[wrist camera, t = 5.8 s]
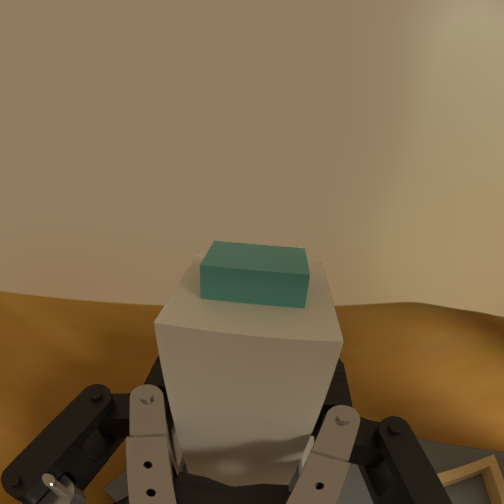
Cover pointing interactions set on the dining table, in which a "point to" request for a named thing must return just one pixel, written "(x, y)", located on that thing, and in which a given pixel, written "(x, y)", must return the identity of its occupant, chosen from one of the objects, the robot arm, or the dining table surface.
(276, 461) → the white tall box
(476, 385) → the dining table surface
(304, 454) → the panel
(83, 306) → the dining table surface
